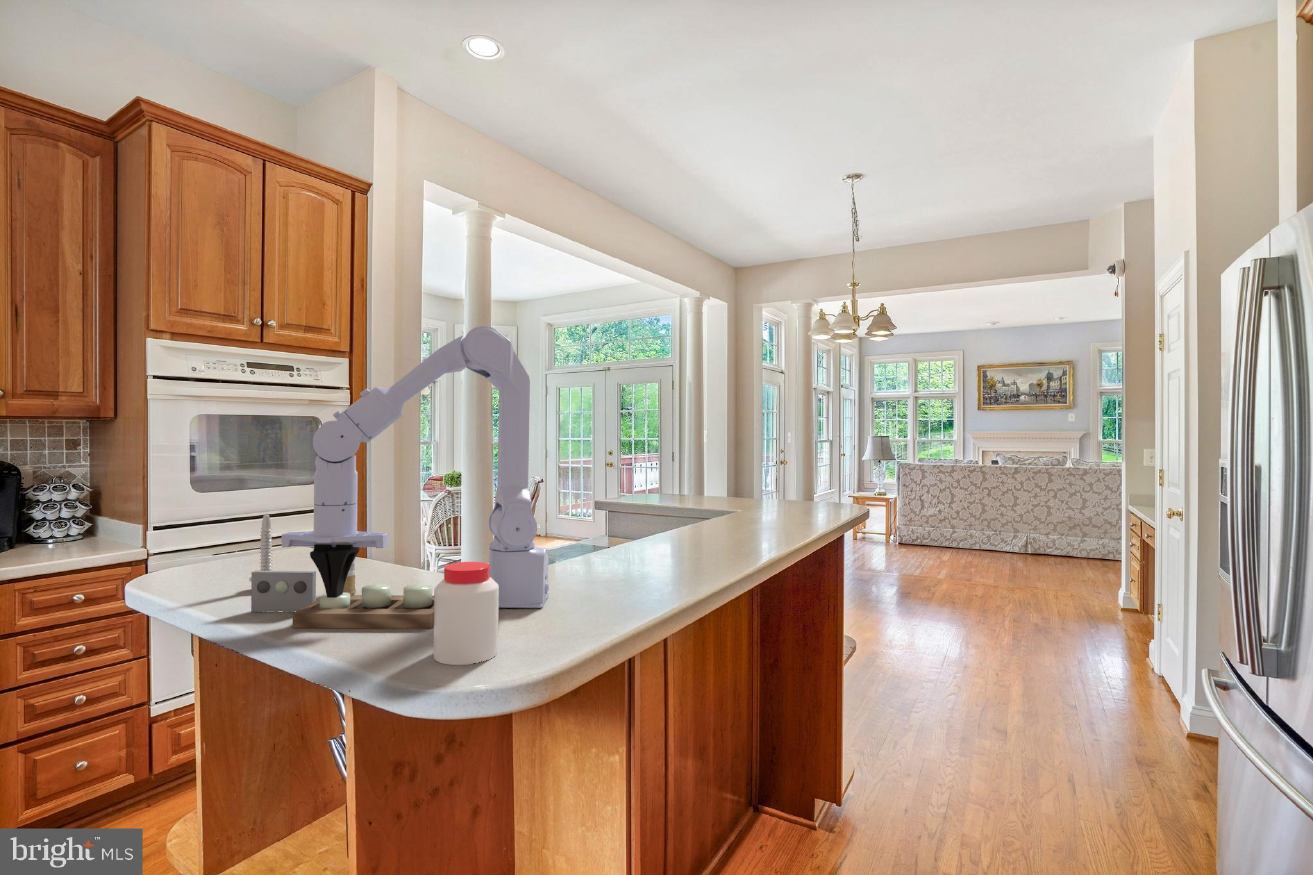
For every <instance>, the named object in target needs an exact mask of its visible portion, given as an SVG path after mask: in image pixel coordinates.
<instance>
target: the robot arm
mask: <svg viewBox="0 0 1313 875" xmlns="http://www.w3.org/2000/svg"><path fill="white" fill-rule="evenodd" d="M465 369H468V370H469V371H471V372H474V373H475V374H478V375H480V376H482V377H484V378H485V379H486V380H487V381H488V382H490V384H491V385H492V386H493V387H495V389H496V390H498V430H497V431H498V432H497V433H498V434H497V435H498V437H497V440H498V442H497V444H498V445H497V486H496V491H495V496H494V505H493V506H494V507H493V508H492V511H491V513H490V515H489V518H488V527H489V530H490V531H491V532H490V533H492V535H493V536H494V537H493V539H492V541H491V542H490V543H489V545H488V564H489V565H490V577H491V578H492V579H493V580H494V581H495V582H497V583H498V585H499V609H500V608H503V609H504V608H505V609H507V608H510V609H512V608H513V609H515V608H517V609H518V608H519V609H520V608H521V609H522V608H523V609H530V608H531V609H533V608H534V609H538V608H539V609H540V608H543V607H544V605H545V603H546V601H547V598H549V590H550V589H549V584H550V583H549V550H548V548H546V547H537V546H536V542H534V540H535V537H536V536H537V532H538V523H537V520H536V518H535V517H534V514H533V510H532V509H533V508H532V498H531V494H530V489H529V457H530V456H529V455H530V454H529V453H530V451H529V450H530V405H531V404H530V401H531V400H530V397H531V395H530V394H531V381H530V375H529V374H528V372H527V370H526V369H525V367H524V365H523V363H522V362H521V360H520V358H519V357H518V355H517V354H516V352H515V350H514V347H513V344H512V341H511V340H509V338H507V337H506V336H505V335H504V334H502V333H501V332H500V331H499V330H497V329H496V328H494V327H493V326H490V325H489V326H488V325H478V326H475V327H474V328H472V329H470V330H469V331H468V333H467V334H466V335H465V336H464V338H463V335H461V336H458V337H457V338H455V339H453V340H451V341H450V342H448V343H446V344H445V345H443V346H441V347H439V348H438V349H436V350H435V351H434V352H433V353H432V354H430V355H429V356H428V357H426V358H425V359H424V360H422V361H421V362H420V363H419V364H418V365H416V366H415V367H414V368H413V369H411V370H410V371H409V372H408V373H406V374H405V375H404V376H403V377H402V378H400V379H399V380H397V381H396V382H395V383H394V384H393V385H392V386H390V387H382V386H374V387H373V388H372V389H371V390H370V389H368V388H365V389H364V390H362V391H361V392H360V393H359V394H360V396H361V397H360V398H359V399H357V400H355V402H353V403H352V404H350V405H349V406H348V407H346V408H345V409H343V411H341V412H340V411H339V410H337V411H336V412H334V413H333V415H332V416H333V417H334V418H335V420H328V421H325V422H323V423H322V424H321V426H319V427H318V428H317V430H316V431H315V432H314V434H313V438H312V446H313V449H314V451H315V453H316V454H317V455H316V456H315V460H314V467H315V472H314V474H313V531H288V532H284V533H282V534H281V548H290V547H310V548H311V547H313V549H312V551H310V552H309V557H310V559H311V560H312V561H313V564H314V565H315V566H316V569H317V571H318V572H319V574H320V577H321V580H322V582H323V586H324V589H325V594H327V598H336V597H339V596H340V595H342V594H343V589H344V585H345V581H346V578H347V575H348V572H349V570H350V567H351V565H352V563H353V561H354V559H355V557H356V558H357V556H358V554H359V552H360V549H361V548H376V549H385V548H386V547H387V548H388V546H389V533H388V532H373V531H371V532H370V531H358V490H359V489H358V487H359V486H358V482H359V481H358V480H359V479H358V478H359V476H358V474H359V473H358V471H357V456H356V455H355V454H357V451H359V449H360V445H361V443H370V442H371V441H373V440H374V439H375V438H376V437H377V436H379V435H380V434H381V433H383V432H384V431H385V430H386V429H388V428H389V427H391V425H393V424H394V423H395V422H397V421H398V420H399V419H401V418H402V417H403V415H404V405H405V403H406V402H408V401H409V400H410V399H412V398H413V397H415V396H416V395H418V394H419V393H421V392H422V391H423V390H425V389H426V388H427V387H429V386H430V385H431V384H433V383H434V382H435V381H436V380H438V379H439V378H441V377H442V376H444V375H445V374H450V373H451V374H452V373H458V372H459V373H460V372H462V371H464V370H465ZM332 542H347V543H332Z"/></svg>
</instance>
